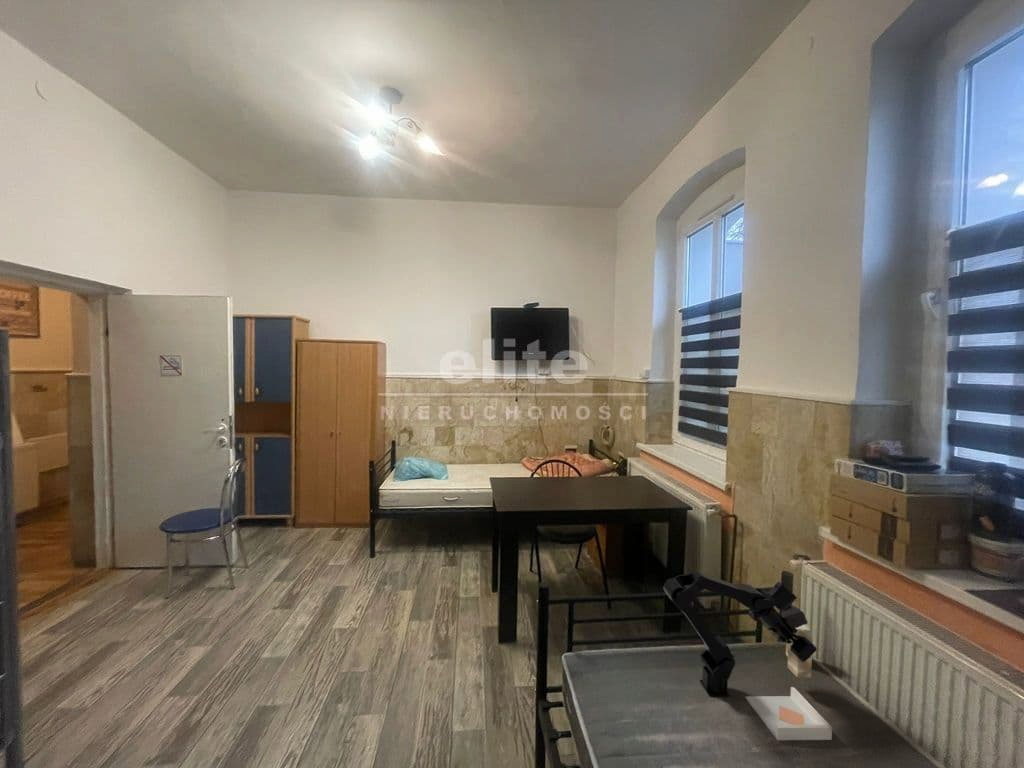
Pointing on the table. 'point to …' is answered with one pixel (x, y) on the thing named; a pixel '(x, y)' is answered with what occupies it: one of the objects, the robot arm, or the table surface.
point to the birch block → (795, 663)
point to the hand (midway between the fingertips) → (804, 652)
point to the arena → (791, 717)
